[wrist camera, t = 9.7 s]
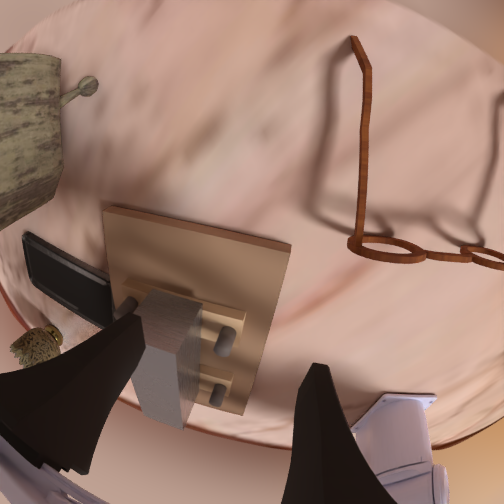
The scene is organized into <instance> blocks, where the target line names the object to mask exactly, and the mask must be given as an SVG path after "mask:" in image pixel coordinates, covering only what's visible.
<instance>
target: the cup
mask: <svg viewBox="0 0 504 504" xmlns="http://www.w3.org/2000/svg"><path fill="white" fill-rule="evenodd" d="M62 343H63V337H62V335H61V334H60V332H59V331H58V330H57V329H56V328H55V327H54V326H52V325H47V326H45V328H44V329H42V328H33V329H31V330H29V331H27V332H26V333H25V334H23V336H21V337H20V338H19V339H17V340H16V341H15V342H14V343H13V344H12V345H11V347H10V348H11V350H10V352H12V353H15V356H14V358H18V357H20V359H19V360H20V361H19V364H20V365H22V364H23V369H24V368H28V367H31V366H34V365H36V364H39V363H42V362H44V361H47V360H50V359H52V358H54V357H56V356H58V355H60V354H61V352H60V348H59V346H61V345H62Z"/></svg>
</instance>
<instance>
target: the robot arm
mask: <svg viewBox="0 0 504 504" xmlns="http://www.w3.org/2000/svg"><path fill="white" fill-rule="evenodd" d="M145 349H146V345H145V339H144V333H143V326H142V320H141V316H138V315H136V314H133V313H130V312H128V313H127V314H125V315H124V316H122V317H121V318H119V319H118V320H116V321H115V322H113V323H112V324H110V325H109V326H107V327H106V328H104V329H103V330H101V331H100V332H98V333H97V334H95V335H93V336H92V337H90V338H89V339H87V340H86V341H84V342H82V343H80V344H79V345H77V346H75V347H74V348H72V349H70V350H68V351H66V352H64V353H62V354H60V355H58V356H56V357H54V358H52V359H50V360H47V361H44V362H42V363H39V364H36V365H34V366H31V367H28V368H24V369H21V370H17V371H13V372H7V373H1V374H0V491H1V492H2V493H3V495H4V496H5V497H6V498H7V499H8V501H9V502H10V503H11V504H81V503H83V504H109V503H107V502H106V501H104V500H102V499H100V498H98V497H96V496H94V495H93V494H91V493H89V492H88V491H86V490H84V489H83V488H81V487H80V486H78V485H76V484H75V483H73V482H72V481H70V480H69V479H67V478H66V477H64V476H63V475H62V474H60V473H59V472H60V470H61V469H63V470H64V471H66V472H69V470H70V468H71V469H73V470H74V471H76V472H77V473H79V474H80V475H87V474H88V473H89V469H90V465H91V461H92V458H93V454H94V451H95V448H96V445H97V442H98V439H99V437H100V434H101V431H102V429H103V426H104V424H105V422H106V419H107V417H108V415H109V413H110V411H111V408H112V407H113V405H114V403H115V401H116V400H117V398H118V397H119V395H120V393H121V392H122V390H123V389H124V387H125V385H126V384H127V382H128V381H129V379H130V377H131V376H132V374H133V373H134V371H135V369H136V368H137V366H138V364H139V362H140V360H141V358H142V355H143V353H144V351H145ZM436 399H437V396H436V395H406V394H384V395H383V396H382V397H381V398H380V399H379V400H378V401H377V402H376V403H375V404H374V405H373V406H372V407H371V409H370V410H369V411H368V412H367V413H366V414H365V415H364V416H363V417H362V418H361V419H360V420H359V421H358V422H357V423H356V424H355V425H354V426H352V427H351V428H349V425H348V423H347V420H346V418H345V415H344V413H343V410H342V407H341V404H340V402H339V399H338V396H337V393H336V390H335V386H334V383H333V380H332V376H331V373H330V369H329V367H328V365H324V364H318V363H312V365H311V367H310V369H309V371H308V373H307V375H306V377H305V379H304V380H303V382H302V384H301V386H300V388H299V389H298V395H297V401H296V406H295V414H294V428H293V443H292V456H291V463H290V469H289V474H288V478H287V483H286V486H285V490H284V494H283V498H282V502H281V504H449V483H448V476H447V472H446V468H445V467H444V466H442V465H441V464H437V465H434V464H433V459H432V450H431V444H430V437H429V431H428V426H427V420H426V415H425V410H426V409H427V408H428V407H429V406H430V405H431V404H432V403H433V402H434V401H435V400H436ZM352 433H356V441H355V439H354V437H353V434H352ZM67 494H69V495H71V496H72V497H73V498H75V499H76V500H78V501H80V502H81V503H79V502H77V501H75V500H73V499H71V498H69V497H68V496H67Z"/></svg>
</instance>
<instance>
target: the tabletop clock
mask: <svg viewBox="0 0 504 504" xmlns="http://www.w3.org/2000/svg"><path fill="white" fill-rule="evenodd" d="M60 67H61V59H59V58H56V57H53V56H50V55H43V54H35V53H0V231H1V230H3V229H4V228H6V227H7V226H9V225H10V224H12V223H14V222H15V221H17V220H19V219H20V218H22V217H24V216H25V215H27V214H29V213H31V212H32V211H34V210H36V209H37V208H39V207H41V206H42V205H44V204H45V203H47V202H48V201H50V200H51V199H52V198H54V194H55V191H56V188H57V185H58V182H59V179H60V176H61V173H62V170H63V167H64V165H63V156H62V146H61V132H60V108H61V107H63V106H64V105H66V104H67V103H68V102H70V101H71V100H72V99H74V98H75V97H77V96H78V95H80V94H81V95H82V96H86V97H89V96H91V95H92V94H94V93H95V92H96V91H97V89H98V85H99V84H98V81H97V79H96V78H95V77H89V76H87V77H85V78H84V79H83V80H82V81H80V83H79V85H78V89H75V90H73V91H71V92H69V93H67V94H65V95H62V96H60ZM59 96H60V97H59Z"/></svg>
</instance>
